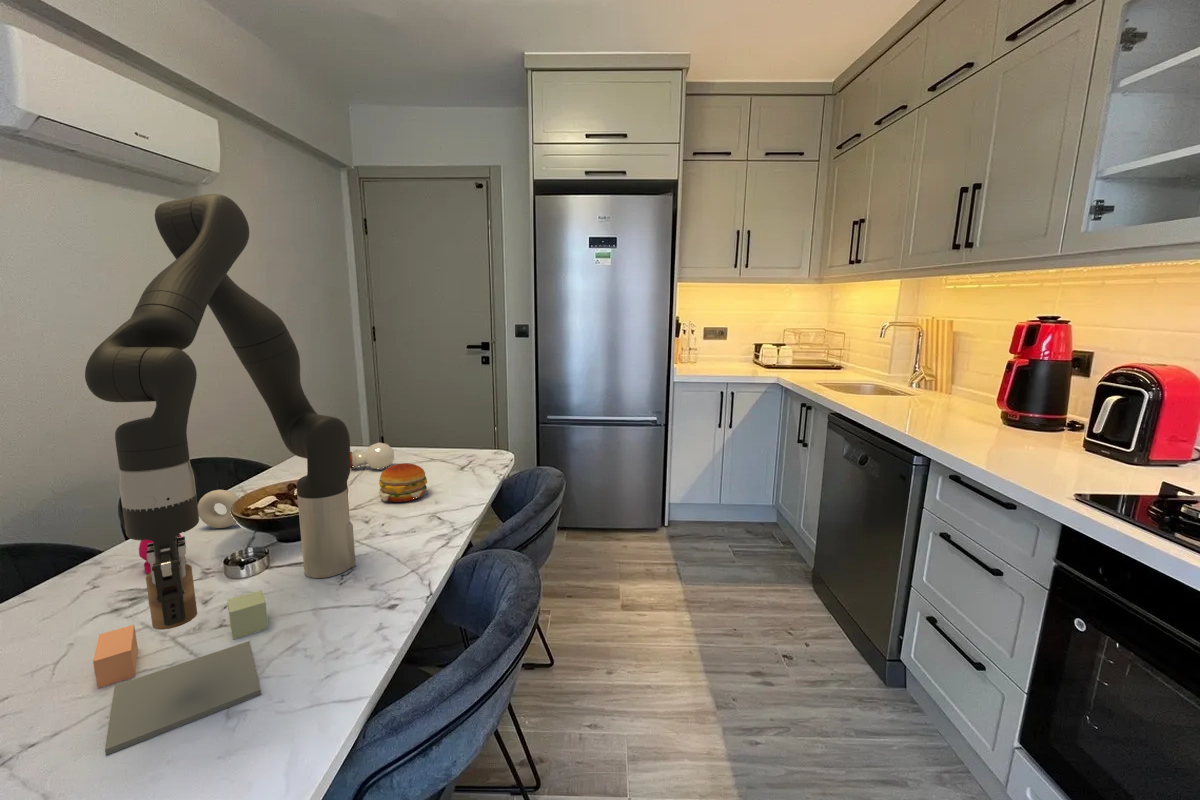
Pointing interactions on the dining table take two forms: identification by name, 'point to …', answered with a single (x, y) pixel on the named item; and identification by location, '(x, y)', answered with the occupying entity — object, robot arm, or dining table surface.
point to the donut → (208, 511)
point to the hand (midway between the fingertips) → (175, 613)
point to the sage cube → (247, 614)
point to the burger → (402, 482)
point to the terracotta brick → (115, 656)
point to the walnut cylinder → (188, 599)
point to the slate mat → (180, 695)
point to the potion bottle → (373, 457)
